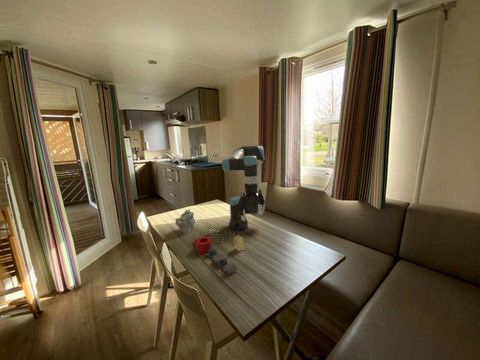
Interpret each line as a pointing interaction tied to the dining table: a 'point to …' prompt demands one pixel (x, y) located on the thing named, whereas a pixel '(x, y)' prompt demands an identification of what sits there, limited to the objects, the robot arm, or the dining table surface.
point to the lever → (203, 244)
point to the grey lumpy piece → (186, 222)
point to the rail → (221, 261)
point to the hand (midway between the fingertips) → (251, 217)
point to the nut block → (238, 243)
